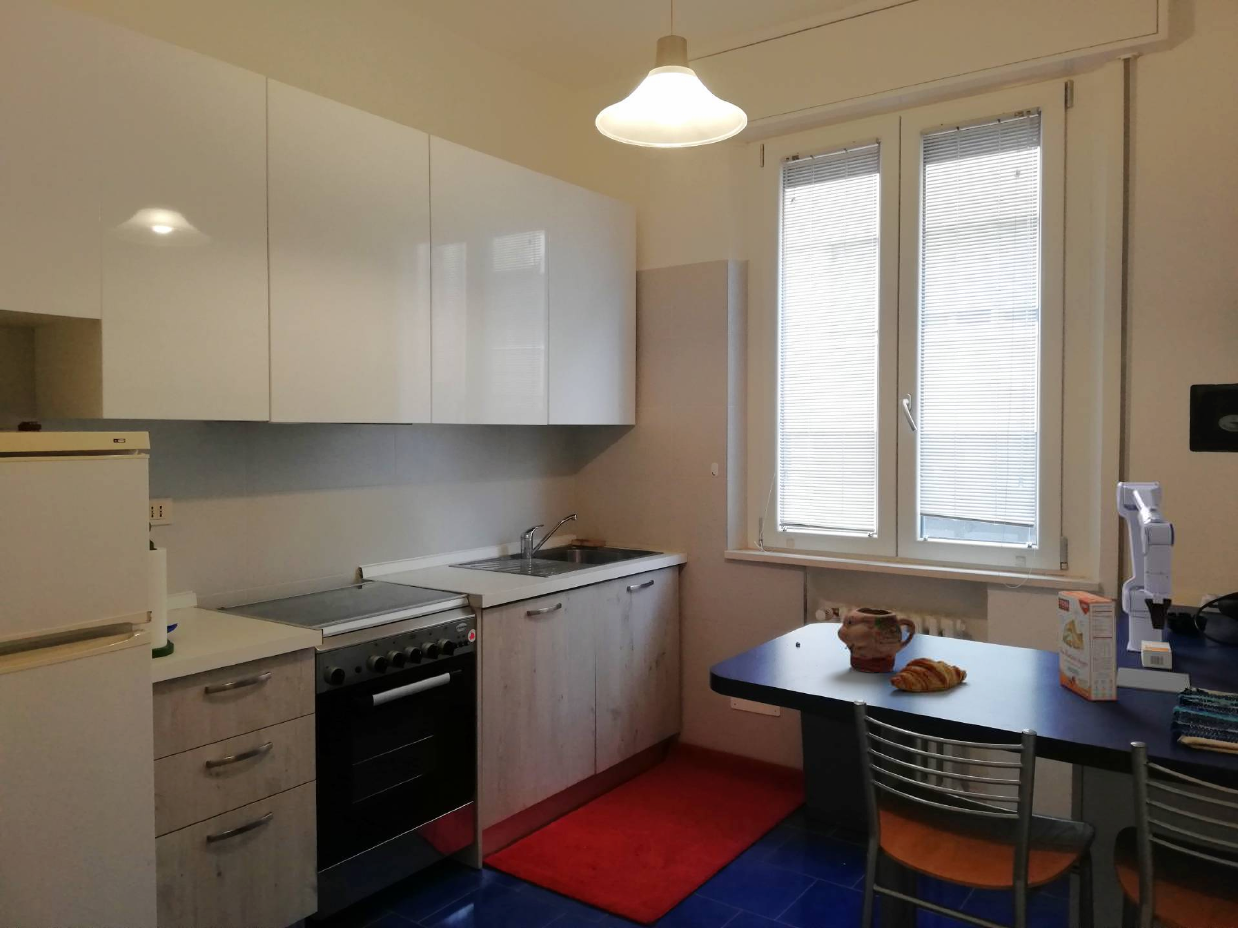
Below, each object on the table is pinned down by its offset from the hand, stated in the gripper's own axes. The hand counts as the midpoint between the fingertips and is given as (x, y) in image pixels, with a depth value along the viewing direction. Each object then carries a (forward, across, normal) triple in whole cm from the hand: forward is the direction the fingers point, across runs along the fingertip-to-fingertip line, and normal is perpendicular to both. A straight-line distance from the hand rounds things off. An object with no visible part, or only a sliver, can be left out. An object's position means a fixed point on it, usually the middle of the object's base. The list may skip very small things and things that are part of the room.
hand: (1158, 628), depth 219 cm
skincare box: (+6, +5, 0) cm, 8 cm away
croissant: (+9, +47, -43) cm, 65 cm away
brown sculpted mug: (+9, +35, -58) cm, 69 cm away
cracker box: (+9, +36, -13) cm, 40 cm away
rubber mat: (+8, +19, -1) cm, 21 cm away
